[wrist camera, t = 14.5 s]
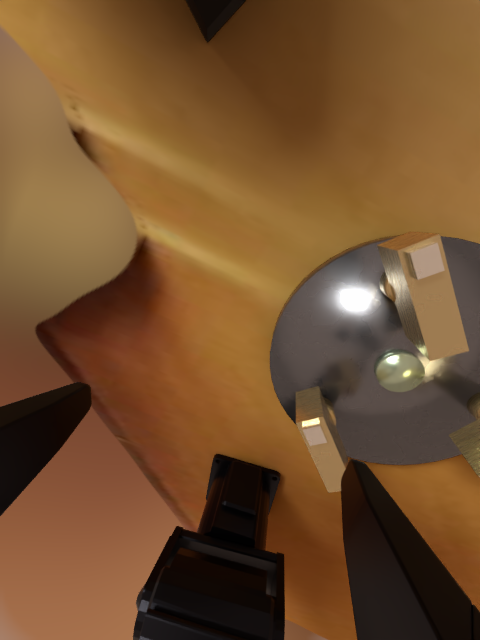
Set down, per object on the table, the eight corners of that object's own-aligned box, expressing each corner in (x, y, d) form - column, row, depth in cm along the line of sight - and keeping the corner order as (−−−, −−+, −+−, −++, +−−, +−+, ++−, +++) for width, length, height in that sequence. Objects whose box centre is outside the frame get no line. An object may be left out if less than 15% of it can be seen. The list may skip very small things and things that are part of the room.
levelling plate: (457, 473, 21) (474, 499, 19) (253, 417, 23) (249, 435, 21) (601, 265, 15) (649, 272, 13) (302, 211, 17) (304, 210, 15)
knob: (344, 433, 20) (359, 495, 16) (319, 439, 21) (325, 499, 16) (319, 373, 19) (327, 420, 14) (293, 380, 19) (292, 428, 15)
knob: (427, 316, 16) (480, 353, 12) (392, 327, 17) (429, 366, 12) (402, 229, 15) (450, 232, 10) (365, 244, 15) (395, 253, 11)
